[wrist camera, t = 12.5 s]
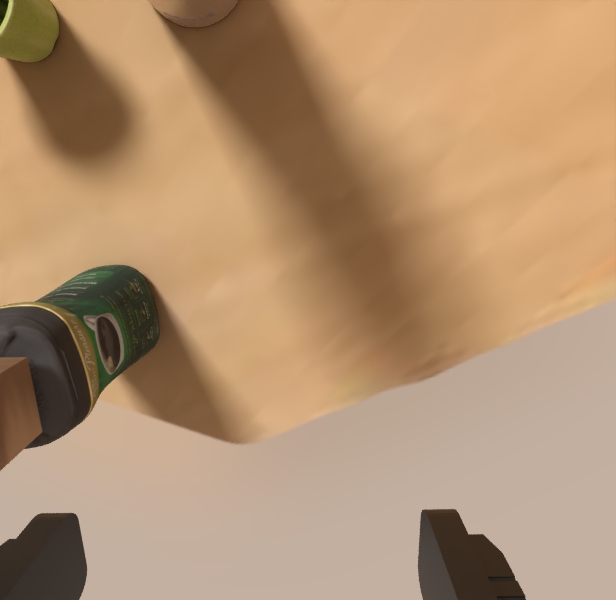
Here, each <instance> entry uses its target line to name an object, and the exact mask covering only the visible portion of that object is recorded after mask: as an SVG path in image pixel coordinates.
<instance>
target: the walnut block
mask: <svg viewBox="0 0 616 600" xmlns="http://www.w3.org/2000/svg"><path fill="white" fill-rule="evenodd" d="M41 433H42V427H41V422H40V417H39V412H38V407H37V402H36V397H35V392H34V387H33V382H32V377H31V372H30V367H29V362H28V357H1V358H0V470H2V469H3V468H4V467H5V466H6V465H7V464H8V463H9V462H10V461H11V460H12V459H13V458H15V456H17V455H18V454H19V453H20V452H21V451H22V450H23V449H24V448H25V447H26V446H28V445H29V444H30V443H31V442H32V441H33V440H34V439H35V438H36V437H37V436H38V435H39V434H41Z"/></svg>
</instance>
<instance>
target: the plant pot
mask: <svg viewBox="0 0 616 600" xmlns="http://www.w3.org/2000/svg"><path fill="white" fill-rule="evenodd" d="M58 36H59V22H58V17H57V14H56V11H55V9H54V7H53V5H52V3H51V2H50V1H49V0H0V57H2V58H7V59H12V60H16V61H21V62H37V61H40V60H42V59H44V58H46V57H47V56H48V55H49V54H50V53H51V52H52V50H53V47H54V44H55V42H56V40H57V38H58Z"/></svg>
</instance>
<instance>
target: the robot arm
mask: <svg viewBox="0 0 616 600" xmlns="http://www.w3.org/2000/svg"><path fill="white" fill-rule="evenodd" d="M148 1H149V2H150V3H151V4H152V5H153V7H154V8H155V9H156V10H157V11H158V12H160V13H161V14H162V15H163V16H164V17H165V18H167V19H169V20H170V21H172V22H174V23H176V24H179V25H182V26H185V27H195V28H198V27H205V26H209V25H211V24H214V23H216V22H218V21H220V20H221V19H223V18H224V17H225V16H227V15H228V14H229V13H230V12H231V10H232V9H233V8H234V7H235V6H236V4H237V2H238V0H148ZM420 523H421V524H420V539H419V540H420V541H419V556H418V572H419V582H420V588H421V593H422V597H423V600H526V599H525V595H524V593H523V591H522V589H521V587H520V585H519V583H518V582H517V581H516V580H515V576H514V574H513V572H512V570H511V568H510V566H509V564H508V563H507V561H506V559H505V557H504V555H503V553H502V552H501V551H500V550H499V549H498V548H497V547H495V545H493V543H492V542H490V541H489V540H488V539H487V538H486V537H485V536H484V535H483V534H479V535H478V534H477V535H468V533H467V531H466V528H465V526H464V524H463V522H462V520H461V518H460V515H459V513H458V512H457V511H456V510H455V509H442V510H441V509H440V510H439V509H438V510H422V513H421V522H420ZM86 576H87V564H86V558H85V553H84V547H83V542H82V536H81V531H80V526H79V521H78V517H77V516H76V514H74V513H42V514H38V515H37V516H35V517H34V518H33V519H32V520H31V522H30V523H29V524H28V525H27V526H26V528H25V529H24V530H23V531H22V532H21V534H20V535H19V536H18V537H17V538H16V539H9V540H7V541H6V542H5V543H3V544H2V545H1V546H0V600H79V598H80V597H81V594H82V592H83V589H84V585H85V581H86Z"/></svg>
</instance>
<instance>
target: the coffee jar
mask: <svg viewBox="0 0 616 600" xmlns="http://www.w3.org/2000/svg"><path fill="white" fill-rule="evenodd" d="M158 338H159V322H158V315H157V310H156V306H155V302H154V299H153V296H152V293H151V290H150V287H149V285H148V283H147V281H146V279H145V277H144V276H143V275H142V274H141V273H140V272H139V271H138V270H136V269H134V268H132V267H129V266H125V265H110V266H102V267H97V268H93V269H90V270H88V271H85V272H83V273H81V274H79V275H77V276H75V277H74V278H72V279H71V280H69V281H67V282H66V283H64V284H63V285H61V286H60V287H58V288H57V289H55V290H54V291H52V292H50V293H49V294H47V295H45V296H44V297H42V298H40V299H39V300H37V301H35V302H22V303H14V304H9V305H4V306H0V358H1V357H28V362H29V367H30V372H31V377H32V382H33V387H34V392H35V397H36V402H37V407H38V412H39V417H40V422H41V427H42V433H41V434H39V435H38V436H37V437H36V438H35V439H34V440H33V441H32V442H31V443H30V444H29V445H28V446H26V447H25V448H24V449H27V448H33V447H38V446H43V445H46V444H49V443H51V442H53V441H55V440H57V439H59V438H60V437H62V436H64V435H65V434H67V433H68V432H69V431H70V430H72V429H73V428H74V427H76V426H77V425H78V424H80V423H81V422H83V420H85V419H86V418H87V417H88V415H89V414H90V412H91V411H92V409H93V407H94V406H95V403H96V401H97V399H98V397H99V395H100V394H101V392H102V391H103V390H104V388H105V387H106V386H107V385H108V384H109V383H110V382H111V381H112V380H114V379H115V378H116V377H117V376H118V375H120V374H121V373H122V372H123V371H124V370H126V369H127V368H128V367H129V366H131V365H132V364H134V363H135V362H136V361H138V360H139V359H140V358H142V357H143V356H144V355H145V354H147V353H148V352H149V351H150V350H151V349H152V348H153V347H154V346H155V345H156V343H157V341H158Z"/></svg>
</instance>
